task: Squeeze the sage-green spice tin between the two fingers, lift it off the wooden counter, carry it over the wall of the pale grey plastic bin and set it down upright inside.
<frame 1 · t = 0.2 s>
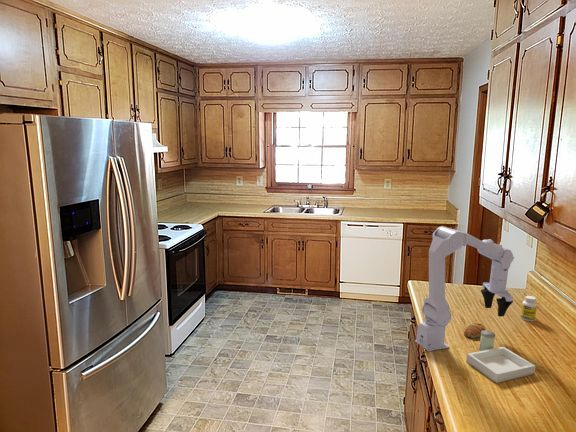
hand: (494, 311, 160), 10 cm above the counter, tool pointing down, fingers open, 7 cm apart
bin: (499, 367, 139), on the counter
supplement bottle: (527, 319, 177), on the counter
tin: (485, 351, 150), on the counter
pastry: (474, 335, 163), on the counter
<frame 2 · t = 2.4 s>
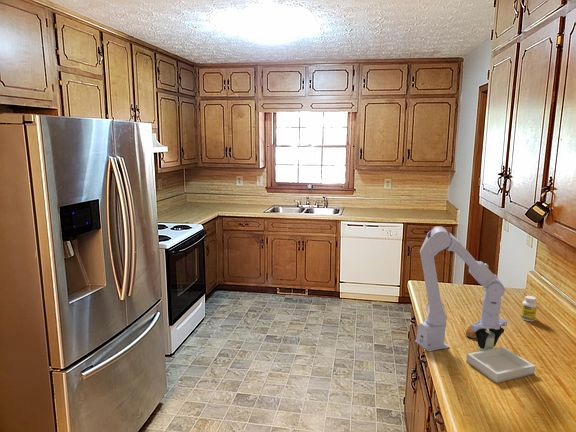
hand: (486, 346, 150), 2 cm above the counter, tool pointing down, fingers closed on tin, 4 cm apart
tin: (486, 351, 150), on the counter, touching gripper
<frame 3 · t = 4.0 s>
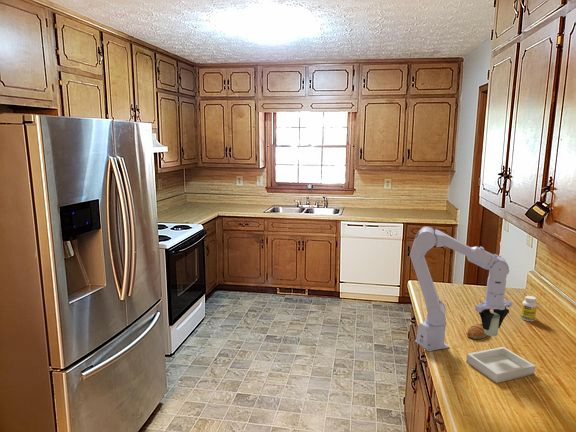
hand: (491, 328, 146), 10 cm above the counter, tool pointing down, fingers closed on tin, 4 cm apart
tin: (490, 333, 147), point 8 cm above the counter, touching gripper
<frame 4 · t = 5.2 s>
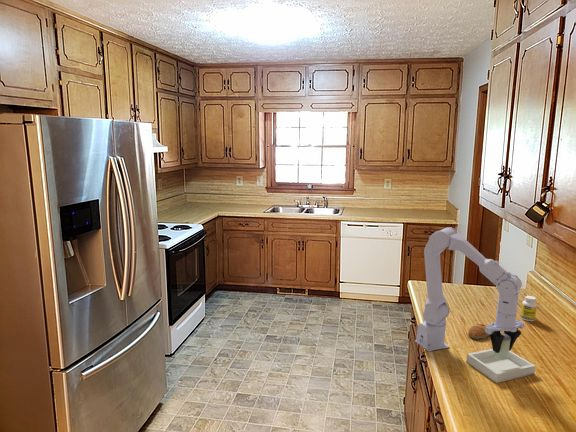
hand: (501, 350, 138), 6 cm above the counter, tool pointing down, fingers closed on tin, 4 cm apart
tin: (500, 355, 139), point 4 cm above the counter, touching gripper
when the fingers open (4 cm above the counter, at t = 6.1 s): tin drops 1 cm, resting on bin.
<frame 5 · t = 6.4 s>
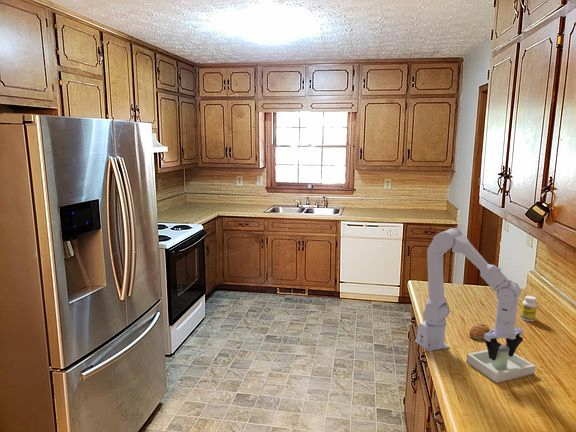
hand: (500, 357, 139), 4 cm above the counter, tool pointing down, fingers open, 7 cm apart
tin: (499, 366, 139), point 1 cm above the counter, touching bin
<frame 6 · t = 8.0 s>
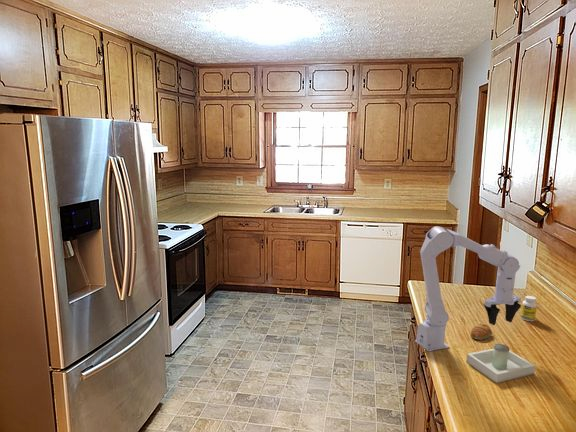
hand: (500, 322, 151), 10 cm above the counter, tool pointing down, fingers open, 7 cm apart
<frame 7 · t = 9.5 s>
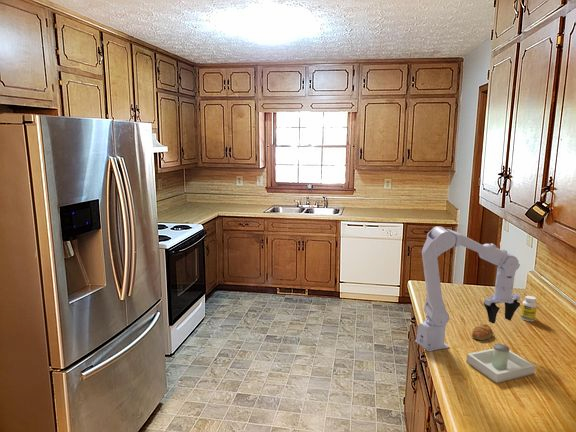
hand: (499, 320, 152), 10 cm above the counter, tool pointing down, fingers open, 7 cm apart
at the end: tin inside the target area on the bin (0.1 cm from its centre), point 0.5 cm above the bin's base; tin tilted 0°; the gripper is holding nothing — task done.
